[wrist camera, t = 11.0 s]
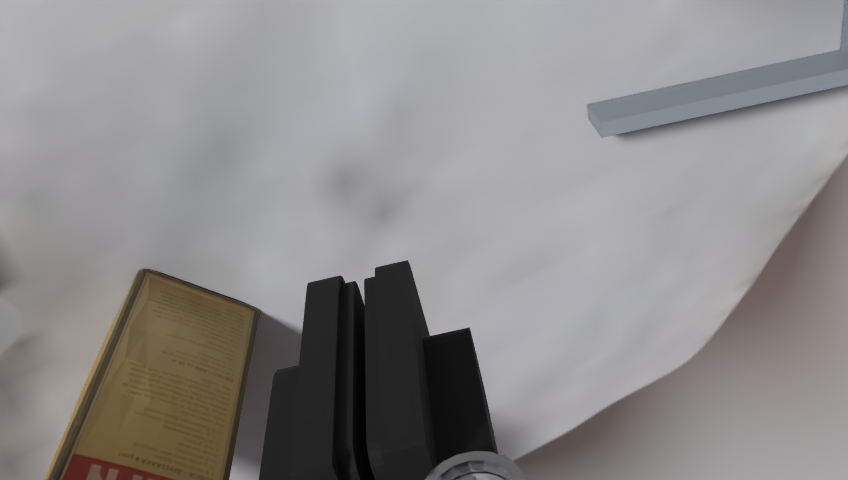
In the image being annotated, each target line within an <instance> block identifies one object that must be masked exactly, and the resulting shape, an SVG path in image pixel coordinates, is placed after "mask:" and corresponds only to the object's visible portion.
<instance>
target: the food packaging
mask: <svg viewBox="0 0 848 480" xmlns="http://www.w3.org/2000/svg"><path fill="white" fill-rule="evenodd" d="M260 313H261V312H260V310H259V309H257V308H255V307H253V306H250V305H248V304H245V303H243V302H240V301H237V300H235V299H232V298H229V297H225V296H222V295H219V294H217V293H214V292H211V291H208V290H205V289H203V288H200V287H197V286H195V285H192V284H189V283H187V282H184V281H181V280H178V279H175V278H173V277H170V276H167V275H164V274H162V273H159V272H156V271H153V270H148V269H141V270H139V271H138V273H137V274H136V276H135V278H134V280H133V283H132V285H131V287H130V289H129V291H128V294H127V296H126V298H125V300H124V302H123V304H122V306H121V308H120V309H119V311H118V313H117V315H116V317H115V319H114V321H113V323H112V325H111V327H110V329H109V331H108V333H107V335H106V338H105V340H104V342H103V344H102V346H101V349H100V351H99V353H98V355H97V358H96V360H95V362H94V364H93V366H92V369H91V371H90V373H89V375H88V377H87V380H86V382H85V384H84V387H83V389H82V392H81V394H80V396H79V399H78V401H77V404H76V406H75V409H74V411H73V414H72V416H71V419H70V421H69V424H68V426H67V428H66V431H65V433H64V435H63V438H62V440H61V442H60V444H59V447H58V449H57V451H56V453H55V456H54V458H53V460H52V462H51V465H50V467H49V469H48V472H47V474H46V476H45V479H44V480H229V477H230V471H231V466H232V460H233V454H234V449H235V443H236V437H237V432H238V426H239V420H240V414H241V409H242V403H243V397H244V392H245V386H246V381H247V376H248V370H249V365H250V360H251V355H252V349H253V344H254V339H255V334H256V329H257V324H258V319H259V316H260Z"/></svg>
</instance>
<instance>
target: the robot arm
mask: <svg viewBox="0 0 848 480" xmlns="http://www.w3.org/2000/svg"><path fill="white" fill-rule="evenodd" d="M364 292H365V306H364V303H363V299H362V296H361V293H360V290H359V288H358V285H357V283H356V282H355V281H354V282H349V283H345V281H344V279H343V277H342V276H336V277H332V278H328V279H323V280H319V281H314V282H310V283H308V285H307V292H306V302H305V312H304V322H303V332H302V341H301V351H300V361H299V366H294V367H290V368H285V369H281V370H277V372H276V373H275V375H274V379H273V385H272V392H271V399H270V406H269V413H268V420H267V427H266V434H265V441H264V448H263V455H262V462H261V469H260V476H259V480H527V477H526V476H525V474H524V473H523V472H522V470H521V469H520V467H519V466H518V465H517V464H515V463H514V462H513V461H511V460H510V459H509V458H507V457H505V456H502V455H499V454H498V452H497V447H496V442H495V437H494V432H493V428H492V423H491V418H490V413H489V409H488V404H487V399H486V395H485V390H484V386H483V381H482V377H481V373H480V368H479V364H478V360H477V356H476V352H475V348H474V343H473V339H472V335H471V331H470V328H465V329H461V330H456V331H452V332H447V333H443V334H438V335H434V336H430V335H429V331H428V328H427V324H426V321H425V317H424V314H423V310H422V306H421V303H420V299H419V296H418V292H417V289H416V285H415V281H414V278H413V274H412V271H411V267H410V264H409V262H408V260H407V261H402V262H398V263H393V264H389V265H385V266H380V267H376V268H375V277H371V278H367V279H365V281H364Z"/></svg>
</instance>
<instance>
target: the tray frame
mask: <svg viewBox="0 0 848 480" xmlns="http://www.w3.org/2000/svg"><path fill="white" fill-rule="evenodd" d="M845 85H848V0H845V3H844V14H843V24H842V35H841V46H840V50H837V51H833V52H828V53H823V54H819V55H814V56H809V57H805V58H800V59H796V60H791V61H786V62H782V63H777V64H773V65H768V66H763V67H759V68H754V69H749V70H745V71H740V72H736V73H731V74H726V75H722V76H717V77H712V78H708V79H703V80H699V81H694V82H689V83H685V84H680V85H676V86H671V87H666V88H662V89H657V90H652V91H648V92H643V93H639V94H634V95H629V96H625V97H620V98H615V99H611V100H606V101H602V102H597V103H592V104H588V105H587V106H588V117H589V120H590V122H591V123H592V124H593V126H594V127H595V129H596V130H597V132H598V133H599V134H600V136H601V137H607V136H612V135H616V134H621V133H626V132H630V131H635V130H640V129H644V128H649V127H653V126H658V125H663V124H667V123H672V122H677V121H681V120H686V119H691V118H695V117H700V116H705V115H709V114H714V113H719V112H723V111H728V110H733V109H737V108H742V107H747V106H751V105H756V104H761V103H765V102H770V101H775V100H779V99H784V98H789V97H793V96H798V95H803V94H807V93H812V92H817V91H821V90H826V89H831V88H835V87H840V86H845Z"/></svg>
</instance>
